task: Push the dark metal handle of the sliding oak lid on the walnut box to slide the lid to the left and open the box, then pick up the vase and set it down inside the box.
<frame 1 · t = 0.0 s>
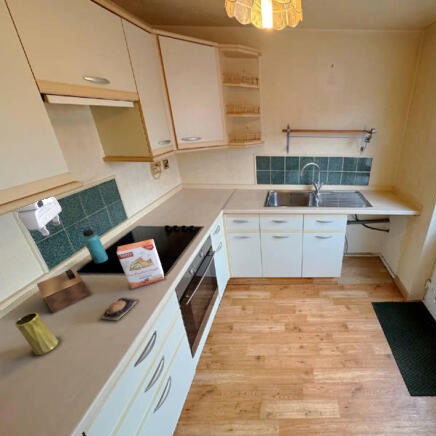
hand: (52, 229, 95), 31 cm above the counter, tool pointing down, fingers open, 8 cm apart
cracker box: (148, 281, 111), on the counter
box: (68, 297, 102), on the counter
bread roll: (120, 310, 96), on the counter
beverage bottle: (102, 262, 126), on the counter
lid: (58, 280, 98), point 10 cm above the counter, slide at 0.0 cm
vase: (47, 347, 81), on the counter
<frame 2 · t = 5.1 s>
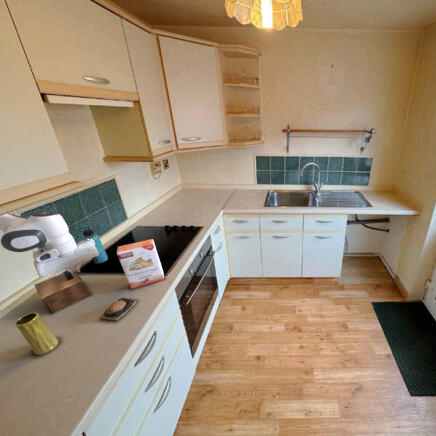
hand: (75, 272, 102), 10 cm above the counter, tool pointing down, fingers closed
lid: (56, 280, 97), point 10 cm above the counter, slide at 0.7 cm, touching gripper
everything else where it was.
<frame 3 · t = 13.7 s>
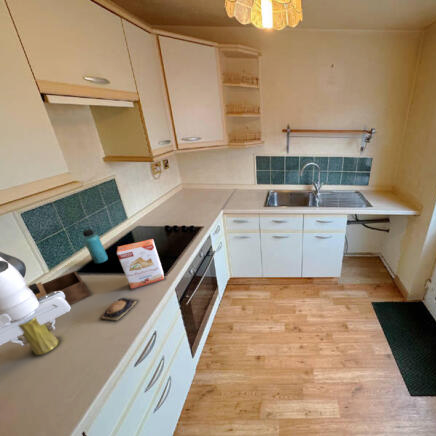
hand: (39, 336, 78), 6 cm above the counter, tool pointing down, fingers closed on vase, 5 cm apart
lid: (20, 295, 90), point 10 cm above the counter, slide at 11.3 cm
vase: (47, 347, 81), on the counter, touching gripper
everything else where it was.
when the fingers open (6 cm above the counter, at t = 22.9 s): vase stays where it is, resting on box.
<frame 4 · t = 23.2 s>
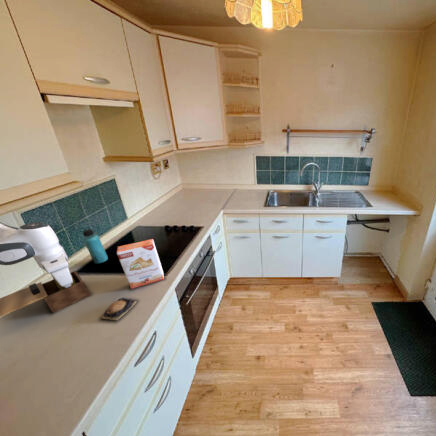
hand: (66, 284, 101), 6 cm above the counter, tool pointing down, fingers open, 8 cm apart
vase: (72, 294, 103), point 1 cm above the counter, touching box
everything else where it was.
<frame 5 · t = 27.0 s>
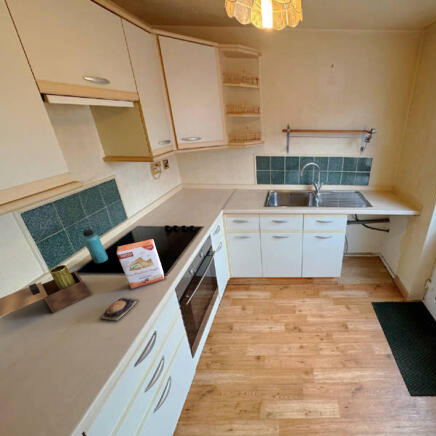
nothing on the counter moved.
at the end: lid slide at 11.3 cm; vase inside the target area on the box (1.5 cm from its centre), point 0.6 cm above the box's base; vase tilted 0° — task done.
